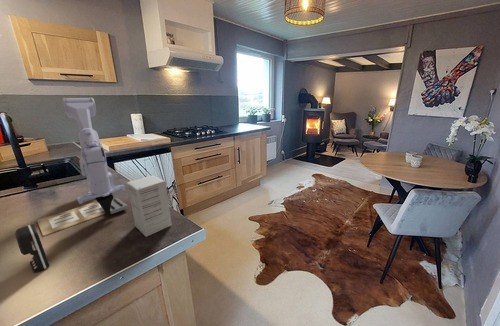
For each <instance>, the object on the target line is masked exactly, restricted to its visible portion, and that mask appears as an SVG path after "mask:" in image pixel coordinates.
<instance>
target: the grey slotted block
mask: <svg viewBox="0 0 500 326" xmlns="http://www.w3.org/2000/svg"><path fill="white" fill-rule="evenodd" d="M126 209H129V207H128V204H127V203H125V202H124V201H122V200H121V199H120V198H118V197H116V198H113V200H112V203H111V207H110V215H113V214H115V213H119V212H121V211H124V210H126Z"/></svg>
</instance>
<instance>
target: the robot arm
mask: <svg viewBox="0 0 500 326" xmlns="http://www.w3.org/2000/svg"><path fill="white" fill-rule="evenodd" d="M61 100H62V105H63V108H64V112H65V114H66V116H67V118H70V119H73V120H74V121H76V123H77V126H78V130H79V132H78V133H77V136H78V137H77V138H78V141H79V145H80V149H81V150H80V155H81V158H79V161H78V162H79V167H80V168H79V169H80V172H81V175H82V176H83V177H86V179H87V180H86V181H87V183H88V187H89V191H87V193H86V194H83V195H80V196H77V197H76V199H77V203H78V204H79V205H81V204H84V203H86V202H89V201H92V200H93V201H94V200H95V202H96V201H97V202H98V203H99V204H100V205H101V207H102V208H103V210H104V212H105V214H104V215H106V216H107V215H111V213H110V207H111V203H112V200H113V199H114V195H113V194H115V193H119V192H122V191H124V192H125V191H126V187H125V185H124V184H123V183H122V184H120V185H115V183H114V177H113V174H112V172H110V171H109V166H108V163H107V154H106V152H105V149H104V146H103V145H102V143H101V140H100V137H99V134H98V131H97V130H95V129H94V128H93V125H92V124H93V123H92V119H91V118H93V117H96V116H97V105H96V102H95V99H94V98H93V97H63V98H62V99H61Z"/></svg>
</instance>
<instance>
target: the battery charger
mask: <svg viewBox="0 0 500 326" xmlns="http://www.w3.org/2000/svg"><path fill="white" fill-rule="evenodd" d="M14 234H15V239H16V242H17V245H18V248H19V250H20V253H21V254H22V255H23V256H25V255H26V256H27V255H30V256H32V259H31V260H30V261H29V264H30V267H31V269H32V272H33V273H38V272H41V271H43V270H46V269H47V268H49V267H50V263H49V261H48V258H47V256H46V253H45V249H44V247H43V244H42V241H41V238H40V235H39V233H38V231H37V228H36V227H35V224H33V223H31V224H28V225H26V226H22V227H20V228H18V229H16V230H15V233H14Z"/></svg>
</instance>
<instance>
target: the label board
mask: <svg viewBox="0 0 500 326" xmlns="http://www.w3.org/2000/svg"><path fill="white" fill-rule="evenodd" d="M105 215H106V214H105V212H104V210H103V208H102V207H101V205H100V204H99V203H98V202H97V201H96V200H95V201H94V202H90V203H88V204H83V205H81V206H78V207H74V208H72V209H69V210H64V211H61V212H59V213H56V214H55V213H54V214H52V215H49V216H45V217H43V218H40V219H37V220H36V221H37V224H38V226H39V229H40V231H41V234H42V236H43V237H46V236H49V235H51V234H54V233H57V232H60V231H62V230H66V229H68V228H71V227H74V226H76V225H80V224H82V223H85V222H89V221H90V220H93V219H96V218H99V217H101V216H105Z"/></svg>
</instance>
